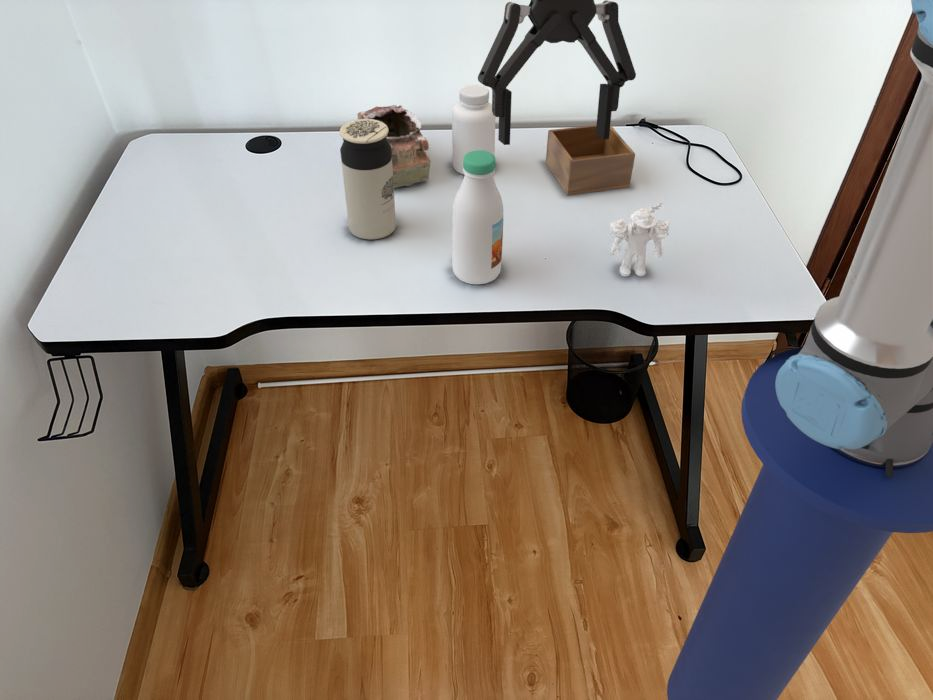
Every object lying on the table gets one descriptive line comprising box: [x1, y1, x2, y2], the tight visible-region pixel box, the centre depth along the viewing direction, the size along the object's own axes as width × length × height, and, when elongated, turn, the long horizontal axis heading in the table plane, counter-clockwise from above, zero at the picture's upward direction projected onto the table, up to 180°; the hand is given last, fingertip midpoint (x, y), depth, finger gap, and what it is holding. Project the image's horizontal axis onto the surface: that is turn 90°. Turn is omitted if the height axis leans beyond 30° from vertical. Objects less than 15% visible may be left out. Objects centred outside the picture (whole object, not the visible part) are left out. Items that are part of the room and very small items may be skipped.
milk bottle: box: [451, 150, 504, 285], centre depth 113 cm, size 8×8×20 cm
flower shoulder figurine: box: [609, 202, 670, 277], centre depth 117 cm, size 9×4×12 cm, turn 89°
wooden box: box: [545, 124, 636, 196], centre depth 140 cm, size 12×12×7 cm
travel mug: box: [339, 118, 397, 240], centre depth 123 cm, size 8×8×18 cm
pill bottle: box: [451, 84, 496, 176], centre depth 139 cm, size 8×8×15 cm
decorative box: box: [356, 104, 431, 189], centre depth 141 cm, size 13×20×10 cm, turn 16°
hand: (553, 139), depth 99 cm, fingers open, 13 cm apart
